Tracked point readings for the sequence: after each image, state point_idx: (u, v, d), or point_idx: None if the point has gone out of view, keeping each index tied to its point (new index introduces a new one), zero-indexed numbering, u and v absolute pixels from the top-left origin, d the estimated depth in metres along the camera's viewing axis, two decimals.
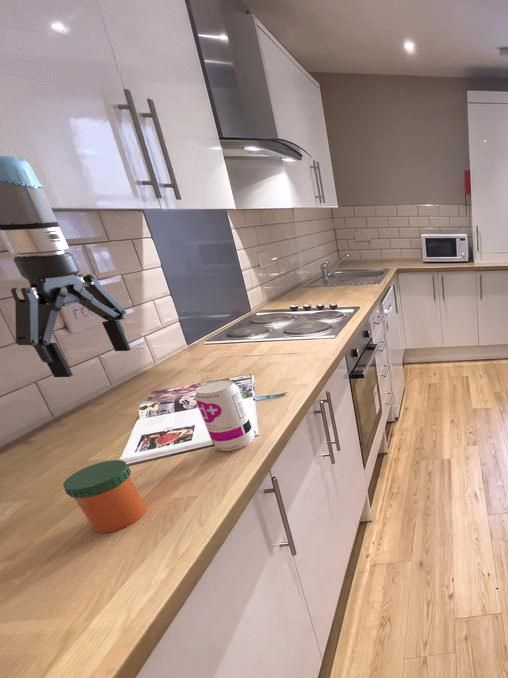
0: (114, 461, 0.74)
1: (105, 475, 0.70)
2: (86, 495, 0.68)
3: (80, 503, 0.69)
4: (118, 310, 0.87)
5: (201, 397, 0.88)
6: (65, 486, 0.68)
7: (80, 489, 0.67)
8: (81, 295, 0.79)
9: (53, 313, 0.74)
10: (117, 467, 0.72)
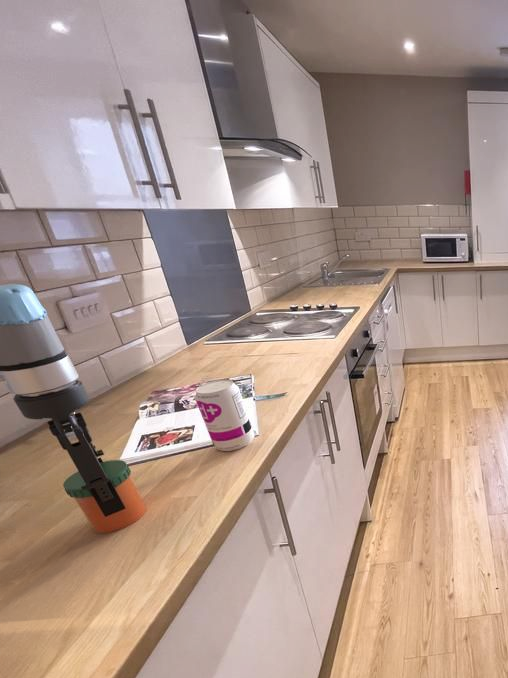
0: (114, 461, 0.74)
1: None
2: (86, 495, 0.68)
3: (80, 503, 0.69)
4: None
5: (201, 397, 0.88)
6: (65, 486, 0.68)
7: (80, 489, 0.67)
8: None
9: None
10: (117, 467, 0.72)
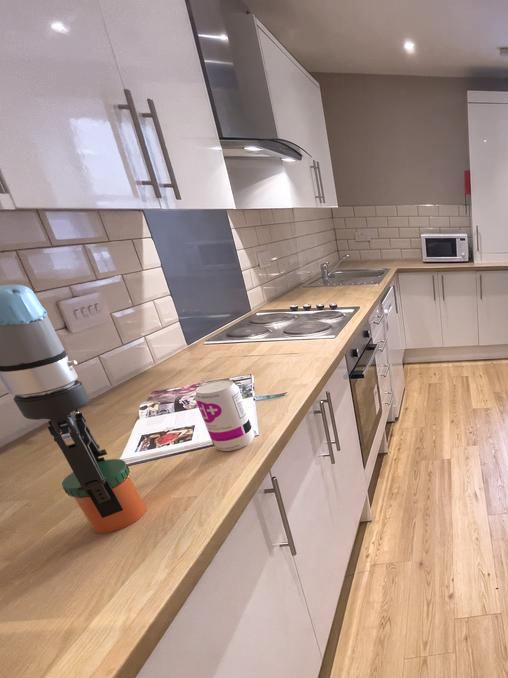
0: (72, 486, 0.67)
1: None
2: None
3: (80, 503, 0.69)
4: (95, 444, 0.74)
5: (201, 397, 0.88)
6: (123, 462, 0.73)
7: (111, 460, 0.74)
8: None
9: (89, 448, 0.67)
10: (72, 478, 0.69)
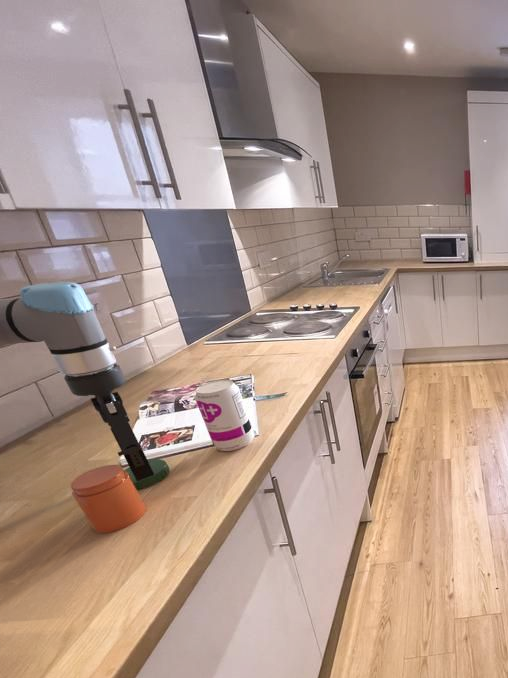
0: None
1: None
2: None
3: (80, 503, 0.69)
4: None
5: (201, 397, 0.88)
6: (163, 461, 0.88)
7: (152, 460, 0.88)
8: None
9: None
10: None
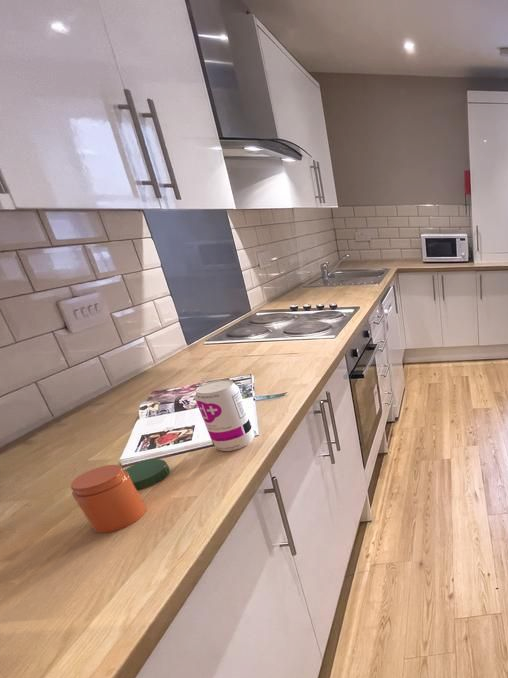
0: None
1: (133, 469, 0.85)
2: None
3: (80, 503, 0.69)
4: None
5: (201, 397, 0.88)
6: (163, 461, 0.88)
7: (152, 460, 0.88)
8: None
9: None
10: None
